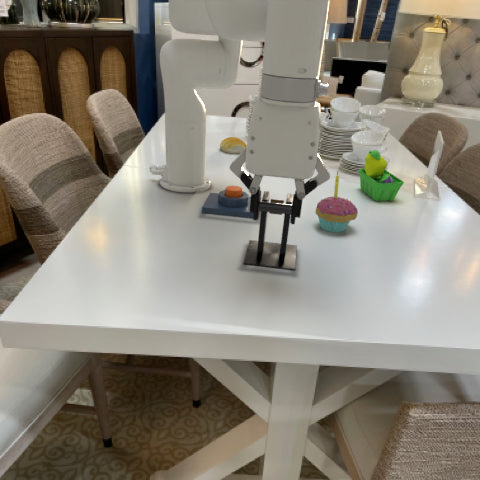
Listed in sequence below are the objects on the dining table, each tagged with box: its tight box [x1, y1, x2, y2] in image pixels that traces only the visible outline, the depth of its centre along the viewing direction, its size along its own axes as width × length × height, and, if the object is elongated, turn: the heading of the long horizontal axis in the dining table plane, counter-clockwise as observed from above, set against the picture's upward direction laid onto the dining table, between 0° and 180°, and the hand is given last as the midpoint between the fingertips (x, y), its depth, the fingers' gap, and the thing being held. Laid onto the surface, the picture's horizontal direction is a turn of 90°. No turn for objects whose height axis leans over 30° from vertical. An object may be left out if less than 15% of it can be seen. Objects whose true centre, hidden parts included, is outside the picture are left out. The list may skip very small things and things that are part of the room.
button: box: [225, 185, 243, 198], centre depth 102 cm, size 4×4×2 cm
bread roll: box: [219, 136, 247, 155], centre depth 149 cm, size 8×9×4 cm
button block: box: [201, 189, 263, 220], centre depth 104 cm, size 12×10×4 cm
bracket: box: [243, 190, 298, 271], centre depth 83 cm, size 10×9×12 cm
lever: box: [258, 198, 292, 216], centre depth 76 cm, size 12×5×2 cm, turn 173°
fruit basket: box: [358, 149, 405, 202], centre depth 119 cm, size 11×9×11 cm
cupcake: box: [315, 171, 359, 233], centre depth 96 cm, size 9×8×12 cm
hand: (274, 218), depth 73 cm, fingers closed on lever, 5 cm apart
